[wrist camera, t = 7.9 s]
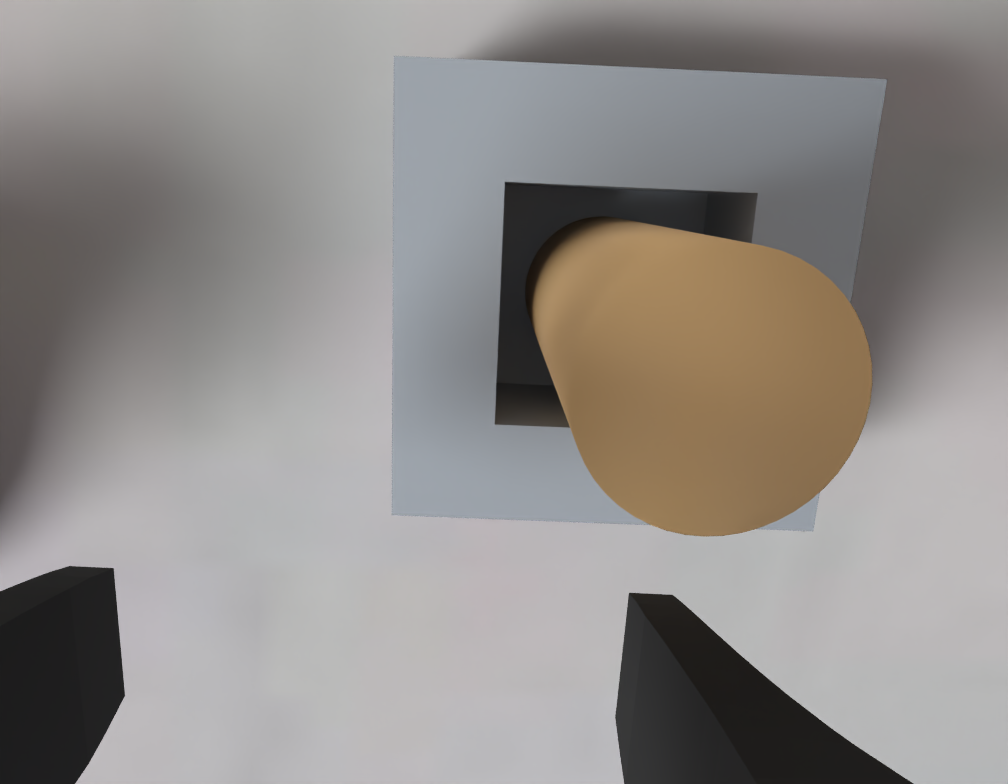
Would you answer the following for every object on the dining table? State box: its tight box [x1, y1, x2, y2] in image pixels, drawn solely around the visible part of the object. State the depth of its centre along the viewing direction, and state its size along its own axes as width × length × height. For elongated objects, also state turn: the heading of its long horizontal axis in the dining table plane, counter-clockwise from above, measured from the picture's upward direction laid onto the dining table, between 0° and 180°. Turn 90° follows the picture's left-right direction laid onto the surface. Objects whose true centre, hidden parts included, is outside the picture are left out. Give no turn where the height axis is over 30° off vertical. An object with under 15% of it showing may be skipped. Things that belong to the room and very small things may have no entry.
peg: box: [525, 216, 872, 536], centre depth 13 cm, size 4×4×10 cm
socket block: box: [392, 56, 887, 531], centre depth 16 cm, size 9×9×4 cm
